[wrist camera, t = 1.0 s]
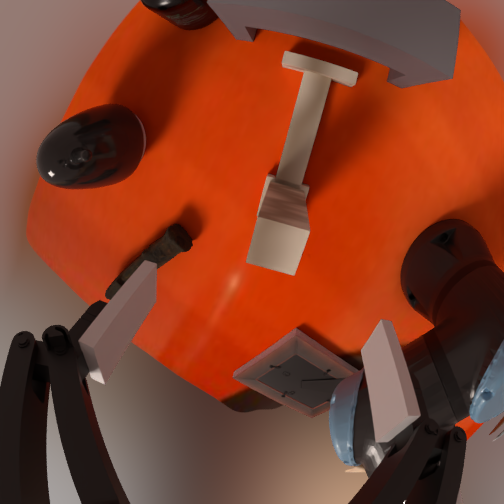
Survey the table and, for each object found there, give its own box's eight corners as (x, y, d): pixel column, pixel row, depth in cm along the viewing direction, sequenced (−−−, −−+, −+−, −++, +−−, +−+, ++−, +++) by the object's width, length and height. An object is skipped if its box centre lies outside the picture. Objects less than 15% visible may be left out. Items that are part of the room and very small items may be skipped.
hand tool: (179, 217, 36) (165, 231, 32) (196, 241, 38) (185, 257, 34) (106, 274, 43) (91, 288, 39) (120, 291, 45) (107, 307, 40)
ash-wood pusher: (353, 76, 25) (392, 50, 13) (308, 225, 34) (315, 286, 22) (285, 55, 25) (280, 15, 13) (246, 208, 34) (220, 260, 22)
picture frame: (372, 377, 47) (296, 324, 43) (374, 386, 45) (295, 335, 40) (311, 409, 54) (234, 368, 50) (311, 418, 52) (232, 378, 48)
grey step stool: (412, 36, 21) (460, 9, 10) (401, 88, 24) (452, 78, 14) (252, -12, 21) (232, -62, 10) (236, 39, 25) (207, 2, 14)
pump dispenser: (160, 176, 34) (87, 217, 20) (99, 177, 35) (23, 214, 21) (159, 99, 29) (78, 97, 16) (95, 109, 30) (12, 121, 17)
